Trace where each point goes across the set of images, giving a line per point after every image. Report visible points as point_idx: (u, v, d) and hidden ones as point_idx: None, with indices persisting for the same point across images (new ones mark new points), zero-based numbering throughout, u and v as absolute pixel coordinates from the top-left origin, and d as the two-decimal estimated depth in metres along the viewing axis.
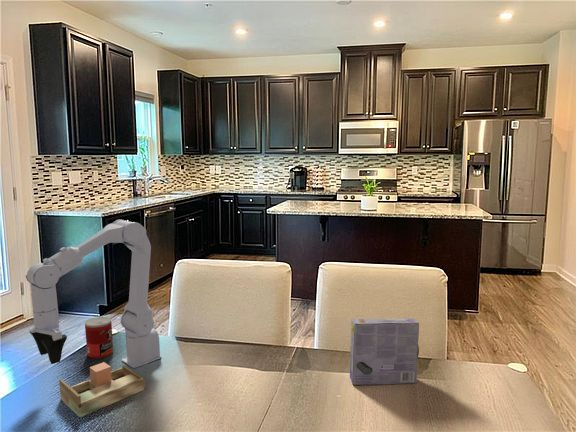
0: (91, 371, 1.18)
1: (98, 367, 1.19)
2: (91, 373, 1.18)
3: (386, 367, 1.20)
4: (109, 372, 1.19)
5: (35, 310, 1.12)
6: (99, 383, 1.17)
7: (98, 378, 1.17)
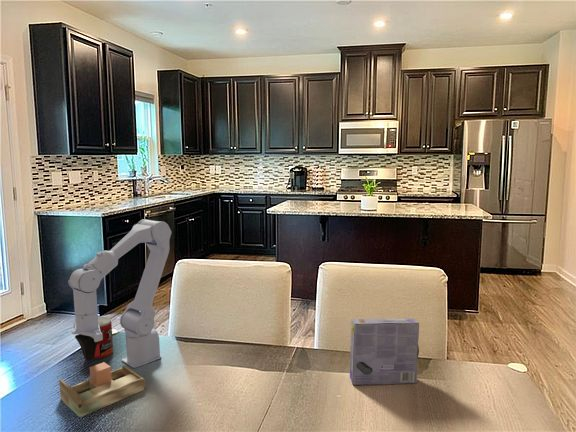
0: (91, 371, 1.18)
1: (98, 367, 1.19)
2: (91, 373, 1.18)
3: (386, 367, 1.20)
4: (109, 372, 1.19)
5: (78, 313, 1.18)
6: (99, 383, 1.17)
7: (98, 378, 1.17)
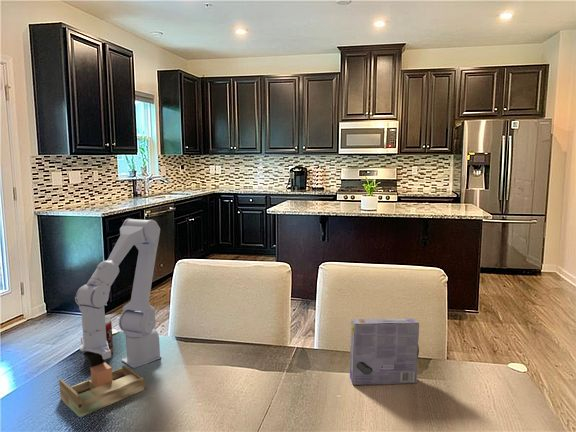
0: (92, 371, 1.17)
1: (99, 367, 1.18)
2: (92, 373, 1.18)
3: (386, 367, 1.20)
4: (110, 373, 1.18)
5: (89, 330, 1.16)
6: (100, 384, 1.16)
7: (99, 379, 1.16)
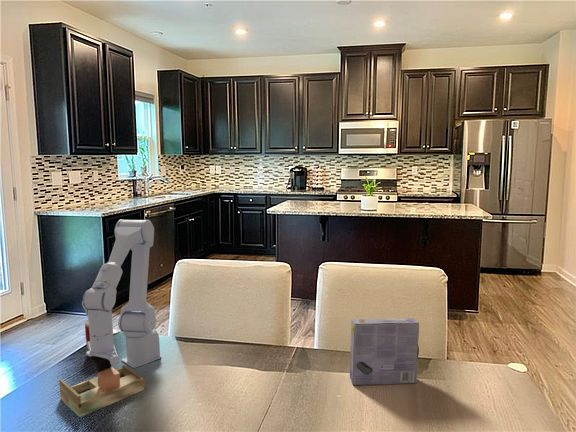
0: (99, 377, 1.14)
1: (107, 372, 1.15)
2: (99, 379, 1.15)
3: (386, 367, 1.20)
4: (118, 378, 1.15)
5: (98, 334, 1.13)
6: (107, 389, 1.14)
7: (107, 384, 1.13)
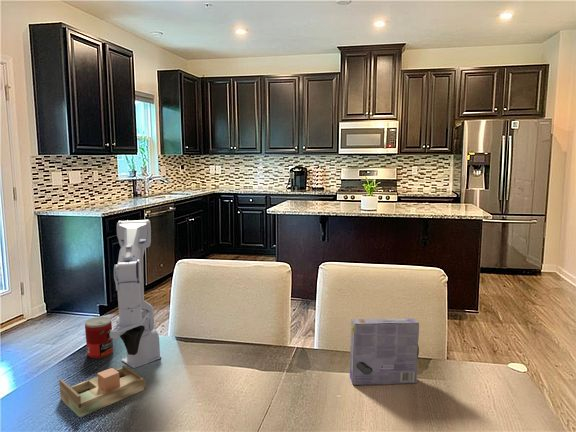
0: (99, 377, 1.15)
1: (106, 373, 1.15)
2: (99, 379, 1.15)
3: (386, 367, 1.20)
4: (117, 378, 1.15)
5: (132, 306, 1.15)
6: (107, 389, 1.14)
7: (107, 384, 1.13)
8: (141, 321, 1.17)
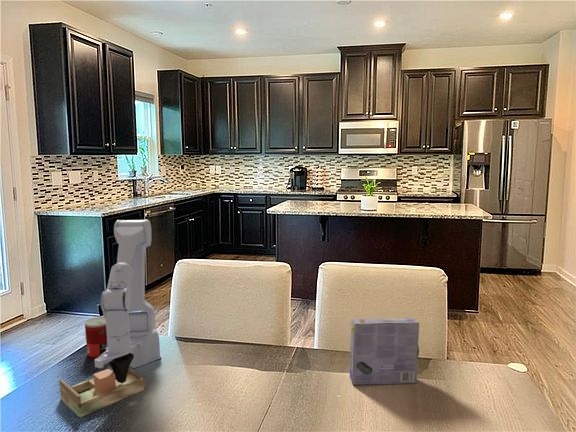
0: (95, 378, 1.14)
1: (102, 374, 1.15)
2: (95, 380, 1.14)
3: (386, 367, 1.20)
4: (113, 379, 1.15)
5: (119, 334, 1.13)
6: (103, 391, 1.13)
7: (102, 385, 1.13)
8: (129, 349, 1.15)
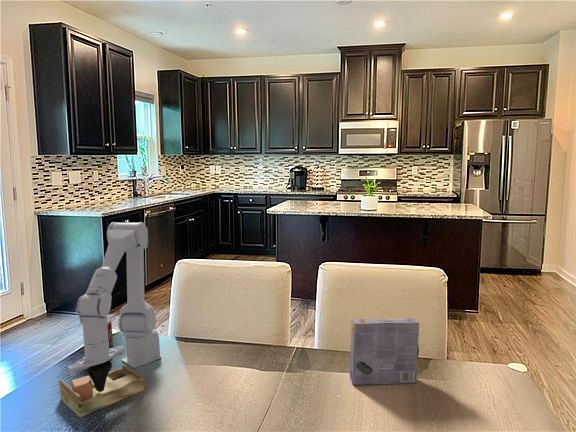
0: (72, 385, 1.11)
1: (80, 381, 1.11)
2: (72, 387, 1.11)
3: (386, 367, 1.20)
4: (90, 387, 1.11)
5: (94, 342, 1.08)
6: None
7: None
8: (106, 358, 1.10)
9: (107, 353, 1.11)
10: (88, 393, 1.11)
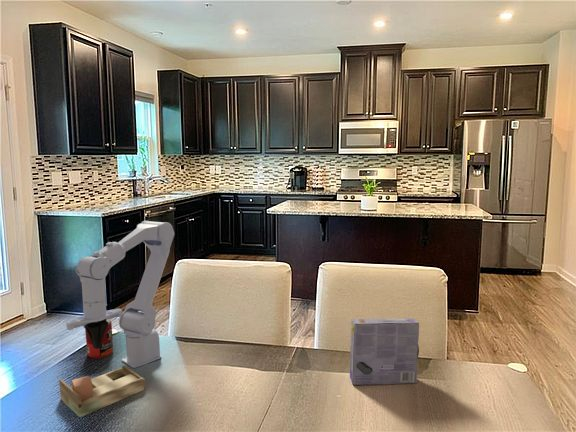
0: (72, 385, 1.11)
1: (80, 381, 1.11)
2: (72, 387, 1.11)
3: (386, 367, 1.20)
4: (90, 387, 1.11)
5: (88, 301, 1.17)
6: None
7: None
8: (102, 317, 1.19)
9: (103, 313, 1.20)
10: (88, 393, 1.11)
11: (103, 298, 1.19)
